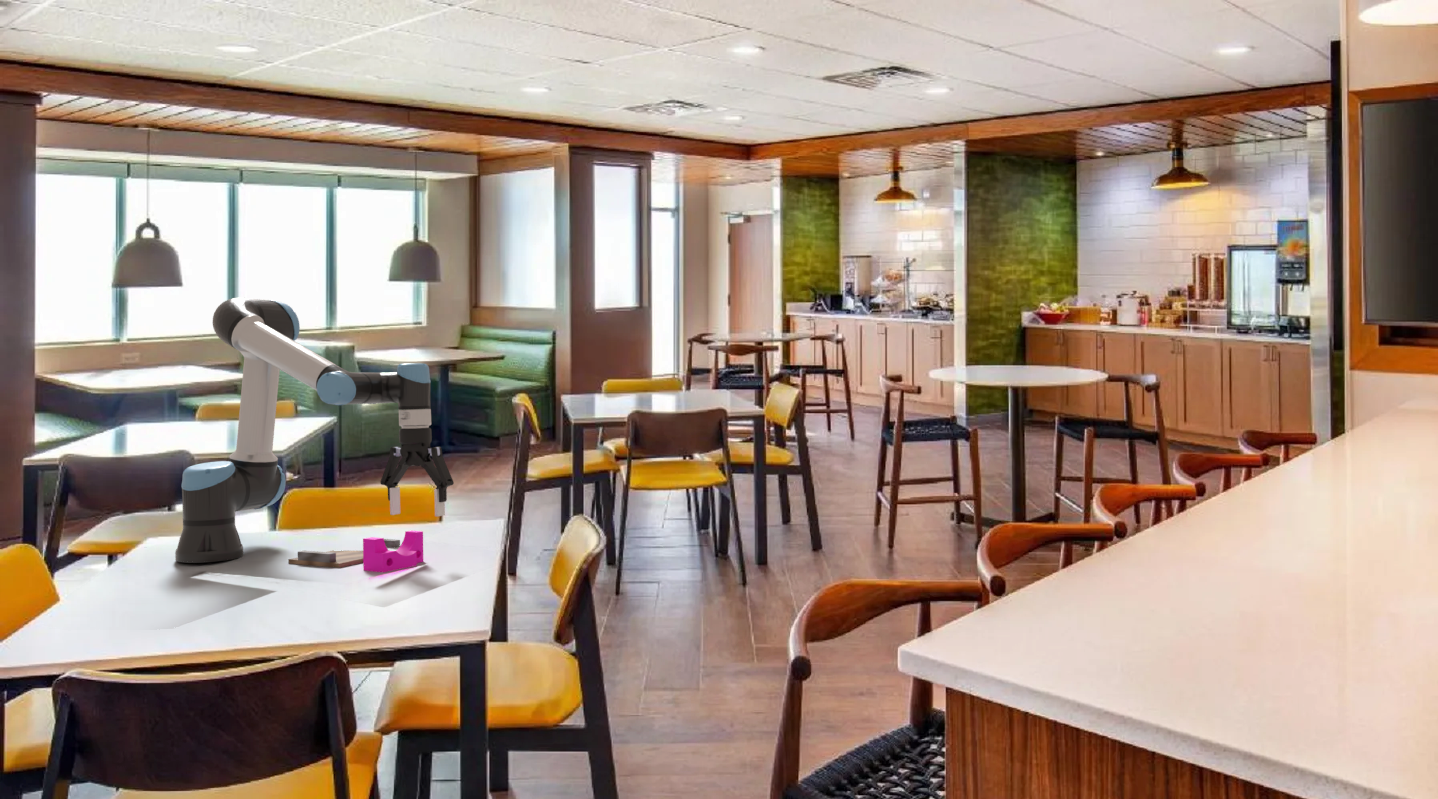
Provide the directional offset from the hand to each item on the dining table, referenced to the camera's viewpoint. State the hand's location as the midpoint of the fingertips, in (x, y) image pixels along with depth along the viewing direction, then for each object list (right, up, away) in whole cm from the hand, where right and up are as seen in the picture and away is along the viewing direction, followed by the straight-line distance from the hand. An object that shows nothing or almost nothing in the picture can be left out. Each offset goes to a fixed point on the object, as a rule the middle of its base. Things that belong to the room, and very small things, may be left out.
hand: (417, 515), depth 257 cm
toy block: (-2, -12, -8) cm, 14 cm away
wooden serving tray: (-18, -11, +5) cm, 22 cm away
